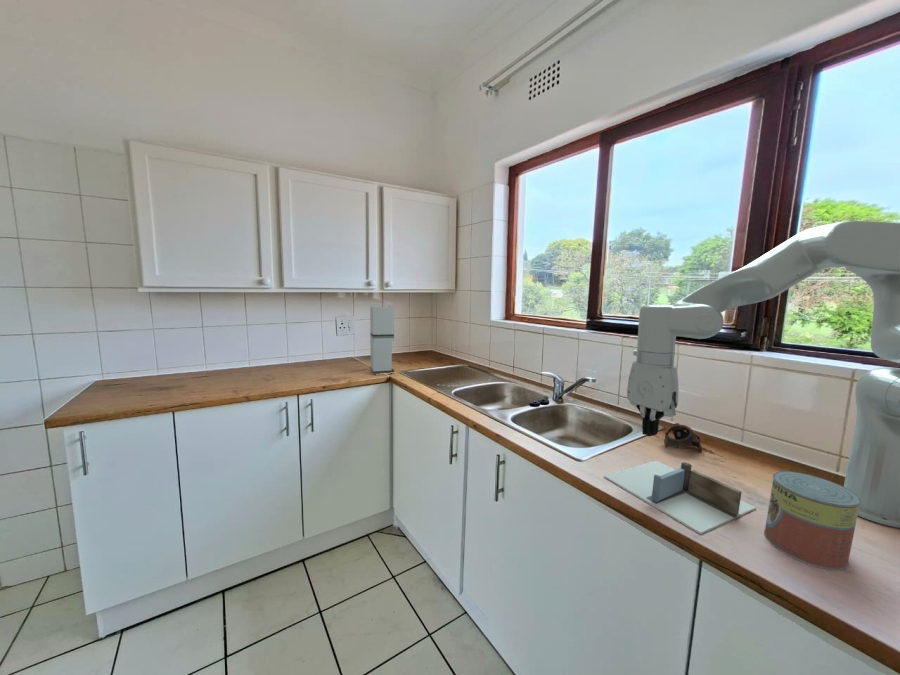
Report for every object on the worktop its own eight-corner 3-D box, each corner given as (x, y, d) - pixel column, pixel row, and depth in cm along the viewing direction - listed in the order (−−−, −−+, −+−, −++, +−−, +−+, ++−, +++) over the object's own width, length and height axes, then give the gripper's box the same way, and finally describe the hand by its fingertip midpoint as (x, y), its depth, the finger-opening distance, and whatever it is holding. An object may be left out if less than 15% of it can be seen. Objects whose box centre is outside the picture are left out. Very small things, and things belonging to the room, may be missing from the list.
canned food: (757, 519, 75) (766, 465, 73) (833, 540, 69) (844, 481, 67) (772, 553, 65) (782, 492, 63) (861, 580, 59) (875, 513, 58)
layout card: (756, 509, 78) (757, 507, 78) (701, 535, 70) (702, 532, 69) (656, 461, 99) (656, 460, 99) (603, 477, 90) (604, 475, 90)
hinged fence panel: (677, 487, 85) (679, 465, 84) (683, 490, 84) (686, 467, 83) (650, 499, 80) (652, 475, 79) (656, 502, 78) (658, 478, 78)
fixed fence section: (739, 516, 76) (743, 487, 75) (733, 519, 75) (738, 489, 74) (681, 487, 86) (684, 461, 85) (676, 489, 85) (679, 463, 84)
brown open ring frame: (711, 459, 102) (703, 437, 100) (675, 467, 106) (667, 446, 103) (692, 432, 113) (684, 412, 111) (660, 441, 116) (652, 421, 114)
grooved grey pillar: (393, 374, 189) (394, 307, 184) (373, 375, 186) (372, 307, 181) (390, 369, 200) (390, 306, 195) (370, 370, 196) (370, 306, 191)
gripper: (616, 354, 88) (612, 426, 90) (677, 366, 75) (670, 450, 77) (636, 351, 91) (632, 421, 94) (698, 362, 78) (692, 443, 80)
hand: (649, 434), depth 85 cm, fingers closed
